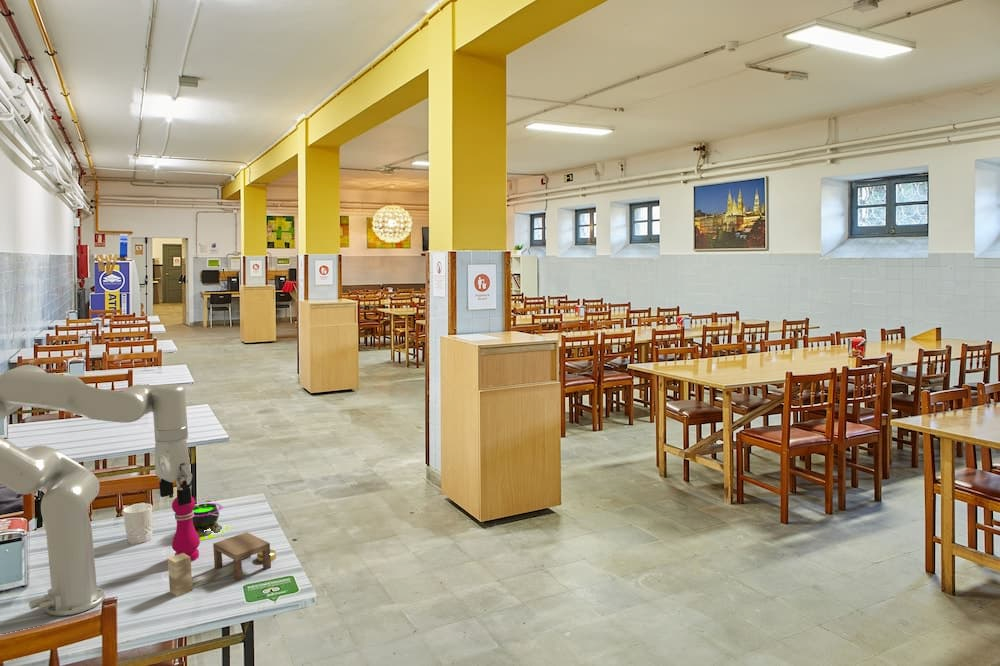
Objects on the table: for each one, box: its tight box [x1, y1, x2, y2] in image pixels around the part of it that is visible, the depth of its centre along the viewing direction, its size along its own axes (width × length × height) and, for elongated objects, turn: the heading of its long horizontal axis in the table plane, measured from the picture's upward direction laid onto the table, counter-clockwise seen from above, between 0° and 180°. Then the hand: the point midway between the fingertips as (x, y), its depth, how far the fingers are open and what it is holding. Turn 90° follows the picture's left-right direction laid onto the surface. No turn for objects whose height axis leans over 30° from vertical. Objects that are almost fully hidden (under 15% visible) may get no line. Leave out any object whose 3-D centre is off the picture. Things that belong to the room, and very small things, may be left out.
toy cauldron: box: [193, 494, 231, 541], centre depth 217 cm, size 15×15×11 cm
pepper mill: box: [171, 496, 201, 562], centre depth 197 cm, size 7×7×20 cm
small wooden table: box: [212, 531, 272, 581], centre depth 192 cm, size 10×12×7 cm
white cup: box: [122, 503, 154, 545], centre depth 211 cm, size 8×8×10 cm
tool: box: [167, 553, 234, 597], centre depth 184 cm, size 17×4×9 cm, turn 140°
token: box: [256, 549, 277, 564], centre depth 198 cm, size 5×5×2 cm
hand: (175, 499), depth 177 cm, fingers open, 9 cm apart
